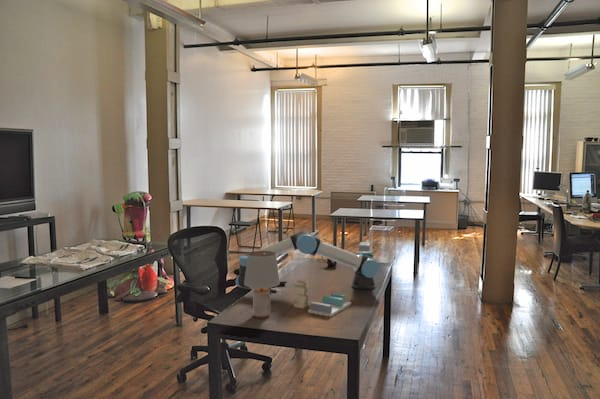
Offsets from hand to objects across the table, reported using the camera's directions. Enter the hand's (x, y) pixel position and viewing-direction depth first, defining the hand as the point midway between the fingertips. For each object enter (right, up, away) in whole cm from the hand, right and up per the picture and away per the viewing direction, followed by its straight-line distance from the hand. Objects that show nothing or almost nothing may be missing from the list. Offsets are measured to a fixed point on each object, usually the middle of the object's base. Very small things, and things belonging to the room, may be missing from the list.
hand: (288, 289), depth 280 cm
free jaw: (+27, -7, -3) cm, 28 cm away
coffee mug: (+30, 0, +92) cm, 97 cm away
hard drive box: (+55, -1, +82) cm, 98 cm away
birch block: (+7, -9, -4) cm, 12 cm away
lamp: (-13, -11, -21) cm, 27 cm away
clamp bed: (+24, -9, -8) cm, 27 cm away
